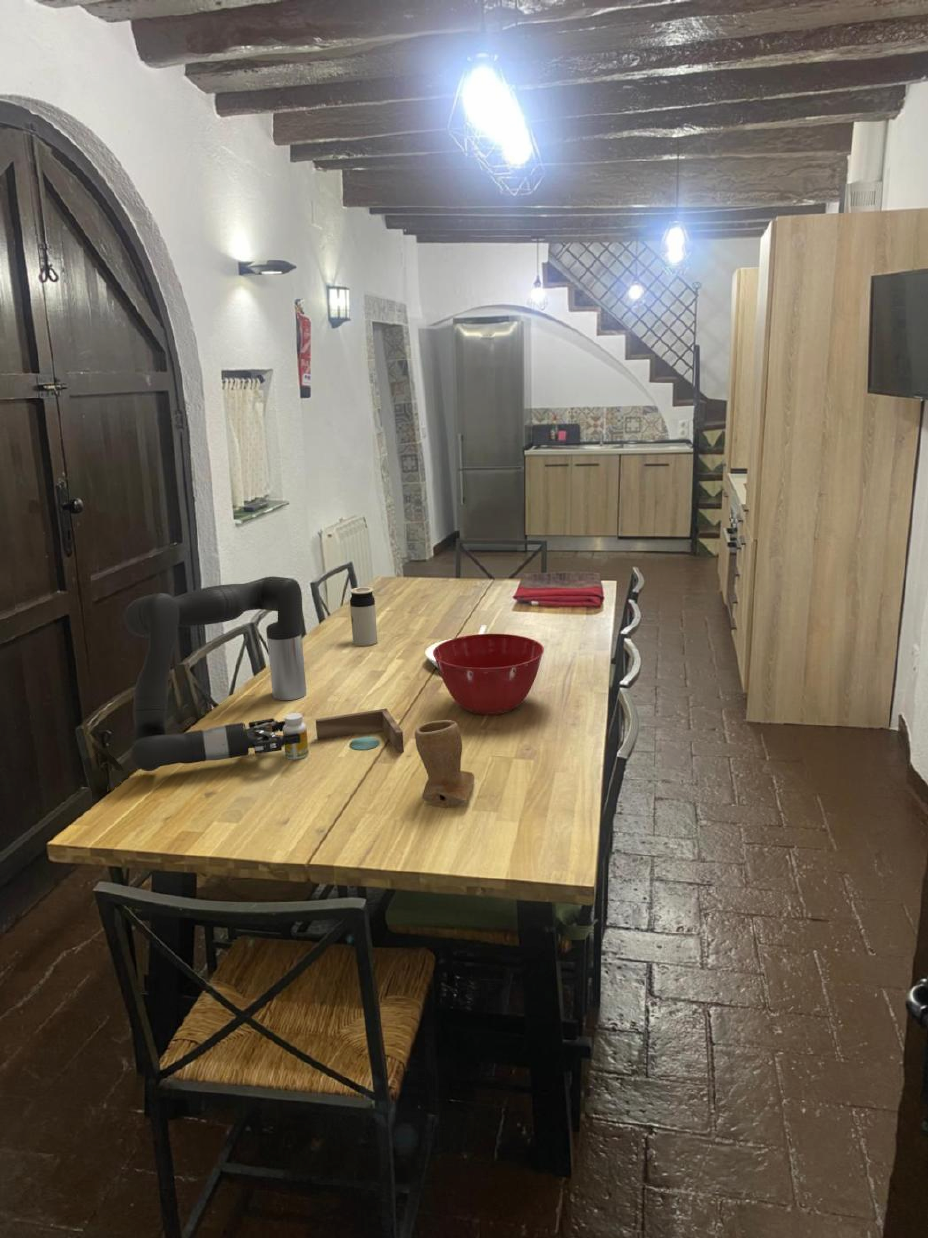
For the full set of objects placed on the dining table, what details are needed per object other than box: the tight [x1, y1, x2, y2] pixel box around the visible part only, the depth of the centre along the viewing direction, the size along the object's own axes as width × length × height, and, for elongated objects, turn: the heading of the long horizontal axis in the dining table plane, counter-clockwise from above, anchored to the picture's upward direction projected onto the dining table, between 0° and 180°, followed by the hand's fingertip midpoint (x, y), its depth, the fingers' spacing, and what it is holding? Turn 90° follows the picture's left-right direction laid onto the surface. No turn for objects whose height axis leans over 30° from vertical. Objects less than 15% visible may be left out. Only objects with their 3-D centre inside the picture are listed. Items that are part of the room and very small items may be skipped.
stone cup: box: [414, 719, 475, 808], centre depth 184 cm, size 15×12×15 cm
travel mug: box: [349, 586, 378, 647], centre depth 290 cm, size 8×8×18 cm
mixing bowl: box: [433, 633, 545, 715], centre depth 232 cm, size 28×28×16 cm
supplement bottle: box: [282, 712, 310, 760], centre depth 206 cm, size 5×5×10 cm
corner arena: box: [315, 708, 405, 754], centre depth 211 cm, size 16×18×5 cm
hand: (297, 730), depth 206 cm, fingers open, 8 cm apart
